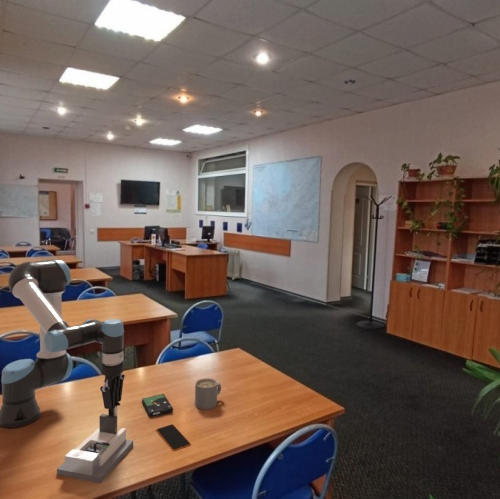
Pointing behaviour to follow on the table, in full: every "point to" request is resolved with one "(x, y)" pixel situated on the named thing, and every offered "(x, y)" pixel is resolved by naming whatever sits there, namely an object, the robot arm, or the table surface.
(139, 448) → the table surface
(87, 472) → the brushed metal slab
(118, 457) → the bench
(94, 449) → the dark grey angular piece
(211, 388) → the coffee mug
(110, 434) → the plunger
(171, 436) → the smartphone
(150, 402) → the disk drive
